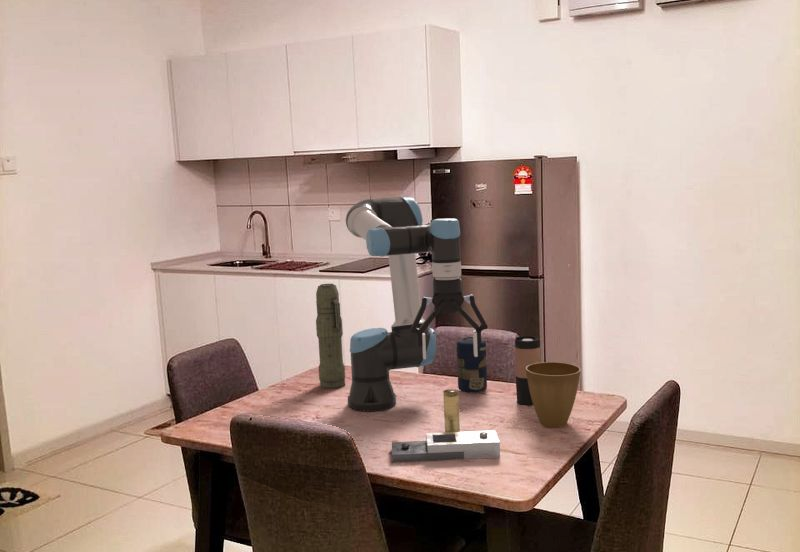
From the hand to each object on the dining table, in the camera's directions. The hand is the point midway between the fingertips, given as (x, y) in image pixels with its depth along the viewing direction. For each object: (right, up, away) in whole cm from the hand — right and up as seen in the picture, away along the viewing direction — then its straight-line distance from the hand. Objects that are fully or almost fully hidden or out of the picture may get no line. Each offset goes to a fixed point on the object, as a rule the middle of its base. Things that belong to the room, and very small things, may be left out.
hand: (450, 357), depth 209 cm
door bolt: (-2, -24, -8) cm, 25 cm away
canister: (+10, -16, +47) cm, 50 cm away
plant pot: (+30, -20, +11) cm, 37 cm away
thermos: (-36, -16, +60) cm, 72 cm away
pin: (+1, -22, +3) cm, 22 cm away
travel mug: (+26, -17, +31) cm, 44 cm away
